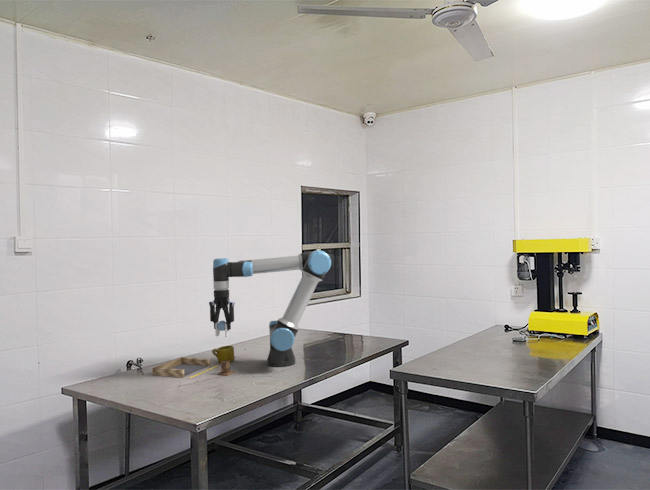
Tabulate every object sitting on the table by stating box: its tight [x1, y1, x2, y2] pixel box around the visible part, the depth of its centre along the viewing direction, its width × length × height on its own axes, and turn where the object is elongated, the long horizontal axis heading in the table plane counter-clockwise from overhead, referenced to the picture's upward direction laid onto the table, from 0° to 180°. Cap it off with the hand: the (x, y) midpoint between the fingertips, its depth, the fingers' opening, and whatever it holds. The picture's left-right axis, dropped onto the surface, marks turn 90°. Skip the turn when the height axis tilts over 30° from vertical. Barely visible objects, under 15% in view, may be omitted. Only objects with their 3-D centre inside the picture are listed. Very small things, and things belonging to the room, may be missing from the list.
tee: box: [217, 360, 235, 377], centre depth 245 cm, size 6×6×6 cm
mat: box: [170, 364, 208, 377], centre depth 255 cm, size 16×20×1 cm
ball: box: [217, 320, 226, 332], centre depth 245 cm, size 5×5×5 cm
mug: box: [211, 345, 235, 364], centre depth 271 cm, size 12×10×10 cm
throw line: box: [188, 365, 218, 379], centre depth 250 cm, size 1×24×1 cm, turn 159°
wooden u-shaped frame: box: [151, 356, 211, 378], centre depth 255 cm, size 18×23×4 cm
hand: (222, 335), depth 245 cm, fingers closed on ball, 5 cm apart
